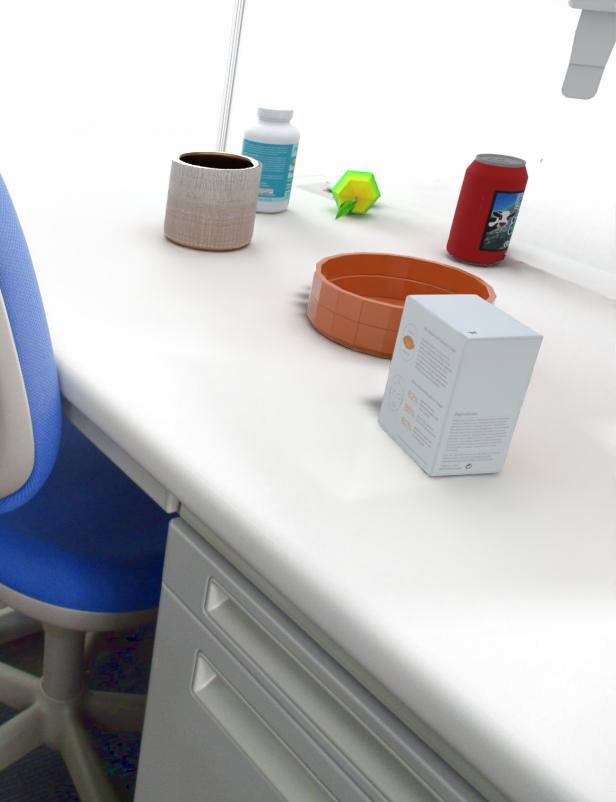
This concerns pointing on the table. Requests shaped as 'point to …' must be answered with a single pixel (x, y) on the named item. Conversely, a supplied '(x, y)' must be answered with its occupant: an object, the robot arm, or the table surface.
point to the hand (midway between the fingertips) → (580, 89)
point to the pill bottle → (273, 155)
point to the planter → (212, 200)
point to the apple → (355, 192)
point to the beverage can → (487, 209)
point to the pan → (378, 295)
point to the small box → (457, 383)
